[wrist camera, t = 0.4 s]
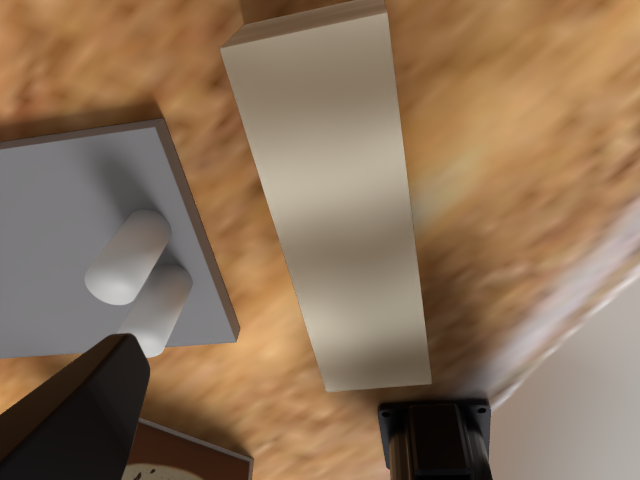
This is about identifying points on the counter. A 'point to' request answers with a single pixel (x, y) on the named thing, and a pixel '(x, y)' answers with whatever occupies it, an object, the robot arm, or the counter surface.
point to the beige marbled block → (337, 185)
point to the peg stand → (104, 245)
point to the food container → (181, 457)
